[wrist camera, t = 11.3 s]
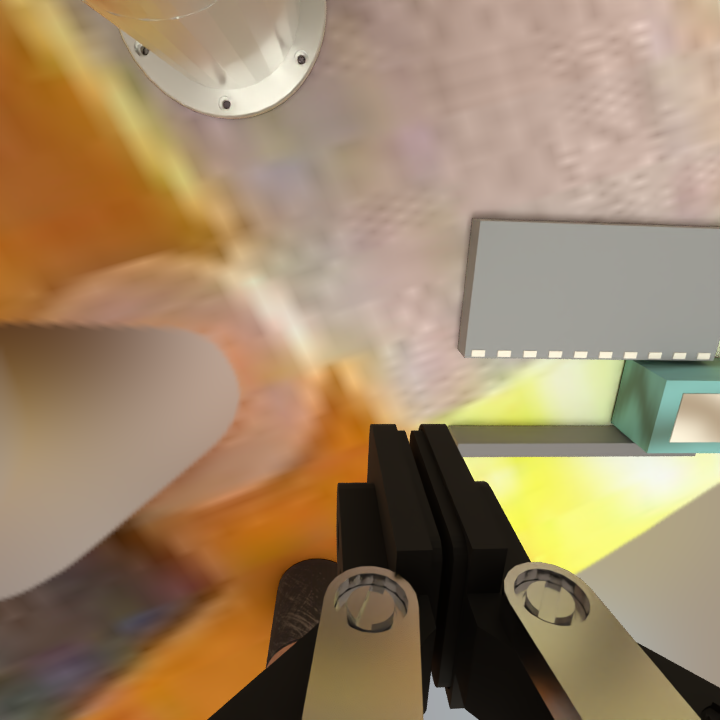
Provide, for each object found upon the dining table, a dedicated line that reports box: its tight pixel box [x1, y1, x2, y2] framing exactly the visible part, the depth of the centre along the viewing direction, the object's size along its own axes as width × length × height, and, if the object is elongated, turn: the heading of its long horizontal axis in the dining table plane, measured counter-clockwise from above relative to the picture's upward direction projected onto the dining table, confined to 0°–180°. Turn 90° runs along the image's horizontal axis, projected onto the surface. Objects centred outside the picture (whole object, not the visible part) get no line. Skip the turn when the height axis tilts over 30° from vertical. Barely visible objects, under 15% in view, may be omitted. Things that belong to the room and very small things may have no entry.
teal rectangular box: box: [611, 358, 720, 453], centre depth 39 cm, size 6×10×5 cm, turn 88°
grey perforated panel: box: [449, 218, 720, 457], centre depth 38 cm, size 18×20×3 cm
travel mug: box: [266, 559, 338, 668], centre depth 37 cm, size 8×8×20 cm
